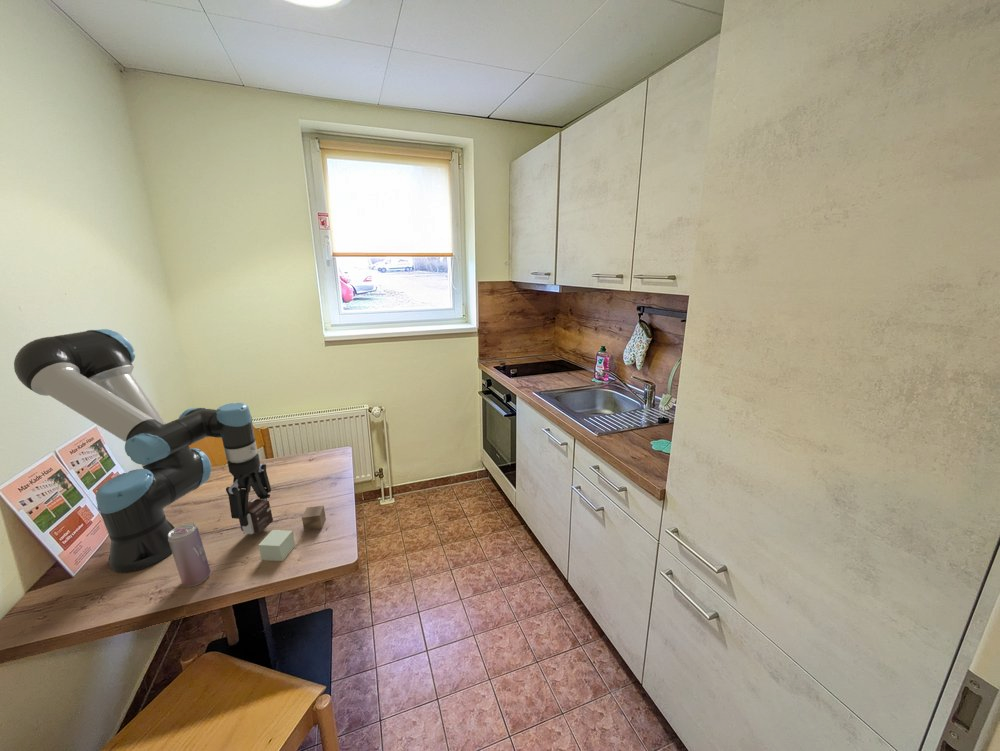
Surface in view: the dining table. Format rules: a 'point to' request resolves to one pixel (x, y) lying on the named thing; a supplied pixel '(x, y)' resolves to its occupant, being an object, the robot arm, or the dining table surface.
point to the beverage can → (189, 554)
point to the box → (259, 514)
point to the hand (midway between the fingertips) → (257, 524)
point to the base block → (277, 545)
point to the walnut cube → (313, 518)
